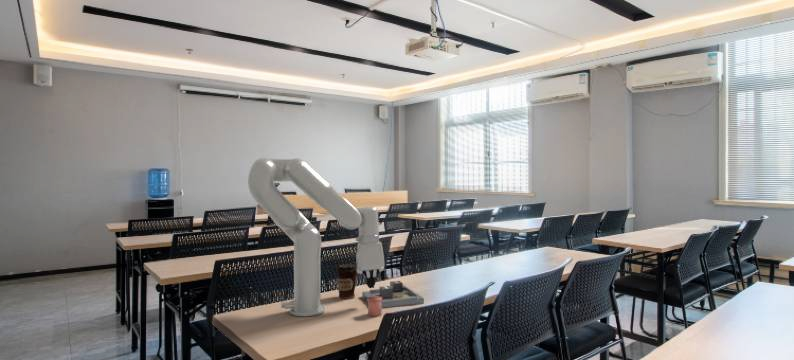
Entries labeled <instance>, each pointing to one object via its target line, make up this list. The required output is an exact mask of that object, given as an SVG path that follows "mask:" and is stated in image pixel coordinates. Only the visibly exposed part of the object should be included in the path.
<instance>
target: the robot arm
mask: <svg viewBox="0 0 794 360" xmlns="http://www.w3.org/2000/svg"><path fill="white" fill-rule="evenodd" d="M247 180H248V182H247V184H248V189H249V192H250V194H251V196H252V199H254V201H255V202H256V203H257V205H259V207H260V208H261V209H262V210H263V211H264V212H265V213H266V214H267V215H268V217H270V218H271V220H272V221H273V222H274V224H275V225H276V226H277V227H278V228H279V229H281V230H282V232H283V233H284V234H285V235H286V236H288V238H289V239H290V240H291V241H292V242H293V282H294V283H293V298H292V299H291V300H289V302H288V301H287V302H286V301H283V302H280V308H281V309H286V310H287V309H289V314H291V315H292V316H296V317H314V316H317V315H321V314H323V313H324V312H325V311H326V306H325V305H323V304H321V301H322V299H321V298H322V297H321V296H322V295H321V294H322V293H321V291H322V290H321V288H322V287H321V285H322V284H321V280H322V279H321V278H322V277H321V254H322V253H321V252H322V237H321V233H320V231H319V230H318V229H317V227H315V226H314V225H313V224H312V223H311V222H310V221H309V220H308V219H307V218H306V216H305V215H303V214H302V212H301V211H300V210H299V209H298V208H297V206H296V205H294V204H293V203H291V201H290V200H288V199H287V198H286V197H285V195H283V193H282V192H281V191H280V190H279V188H278V187H277V186H276V185H275V182H292V184H294V185H295V186H296V187H297V188H299V189H300V190H301V192H303V193H304V195H306V196H307V197H308V198H309V199H310V200H312V201H313V202H314V203H315V204H316V205H318V206H320V207H321V208H322V209H323V210H326V212H328V213H329V214H330V215H331V216H333V218H335V220H337V222H338V224H340V226H342V227H344V228H345V229H347V230H350V231H351V230H356V229H358V236H357V237H355V242H358V243H357V248H356V259H355V260H356V261H355V265H356V268H357V271H356V272H357V274H360V275H363V276H365V278H366V279H365V280H366V287H368V288H369V289H374V288H375V285H376V276H377V275H378V274H379V273H380V272H383V271H385V255H384V250H383V249H384V248H383V243H382V242H381V241H380V236H379V235H380V232H379V231H380V228H379V211H378V208H377V207H375V206H363V207H355V206H354V205H353V204H351V203H350V202H349V201H348V200H347V199H346V198H345V197H343V195H342V194H341V193H340V192H339V191H337V190H336V189H335V188H334V186H332V185H331V184H330V183H329V182H327V180H326V179H324V178H323V177H322V176H321V175H320V174H319V173H318V172H317V171H316V170H315V169H313V168H312V166H310V165H309V163H307V162H306V161H304V160H303V159H302V158H290V159H287V158H286V159H284V158H283V159H279V158H276V159H275V158H267V157H262V158H261V157H260V158H258V159H256V160H255V161H254V162H253V164H252V165H251V167H250V170H249V174H248V179H247Z"/></svg>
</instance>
